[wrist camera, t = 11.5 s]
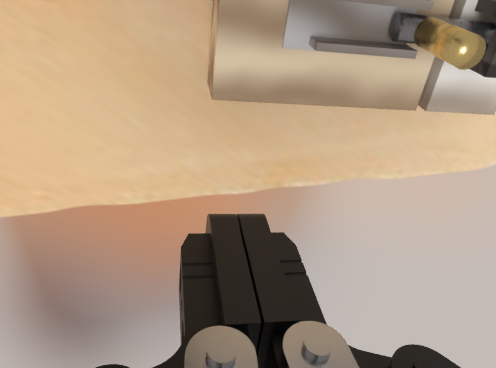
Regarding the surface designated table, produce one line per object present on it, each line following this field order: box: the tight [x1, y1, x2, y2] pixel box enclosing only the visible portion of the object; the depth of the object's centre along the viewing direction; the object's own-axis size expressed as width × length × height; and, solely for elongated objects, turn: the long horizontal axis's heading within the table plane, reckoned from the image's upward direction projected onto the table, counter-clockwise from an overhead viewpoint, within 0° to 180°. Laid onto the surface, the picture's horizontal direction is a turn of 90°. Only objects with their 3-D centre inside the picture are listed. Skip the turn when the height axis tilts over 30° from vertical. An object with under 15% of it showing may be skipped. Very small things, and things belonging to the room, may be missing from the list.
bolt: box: [390, 13, 496, 70], centre depth 30 cm, size 2×10×7 cm, turn 83°
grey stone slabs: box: [208, 0, 496, 115], centre depth 32 cm, size 14×26×8 cm, turn 83°
